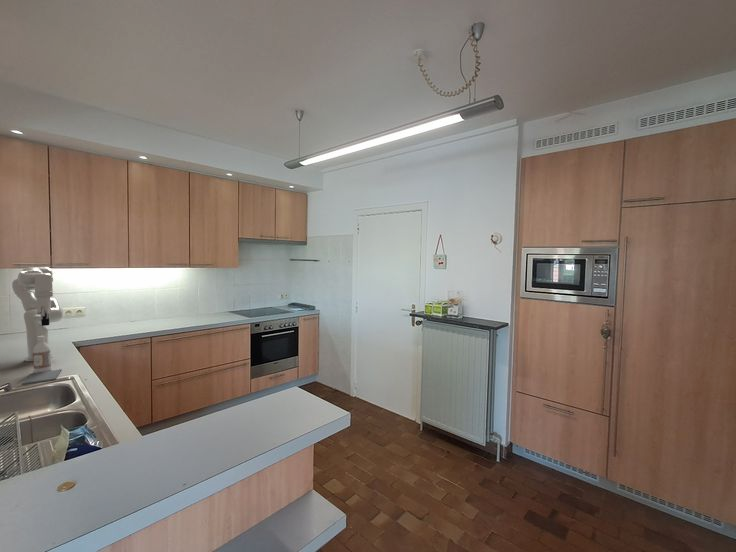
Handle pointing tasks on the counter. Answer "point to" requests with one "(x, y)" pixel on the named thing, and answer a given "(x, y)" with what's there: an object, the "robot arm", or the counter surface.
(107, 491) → the counter surface
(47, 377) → the mat
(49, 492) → the counter surface
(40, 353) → the bath foam
